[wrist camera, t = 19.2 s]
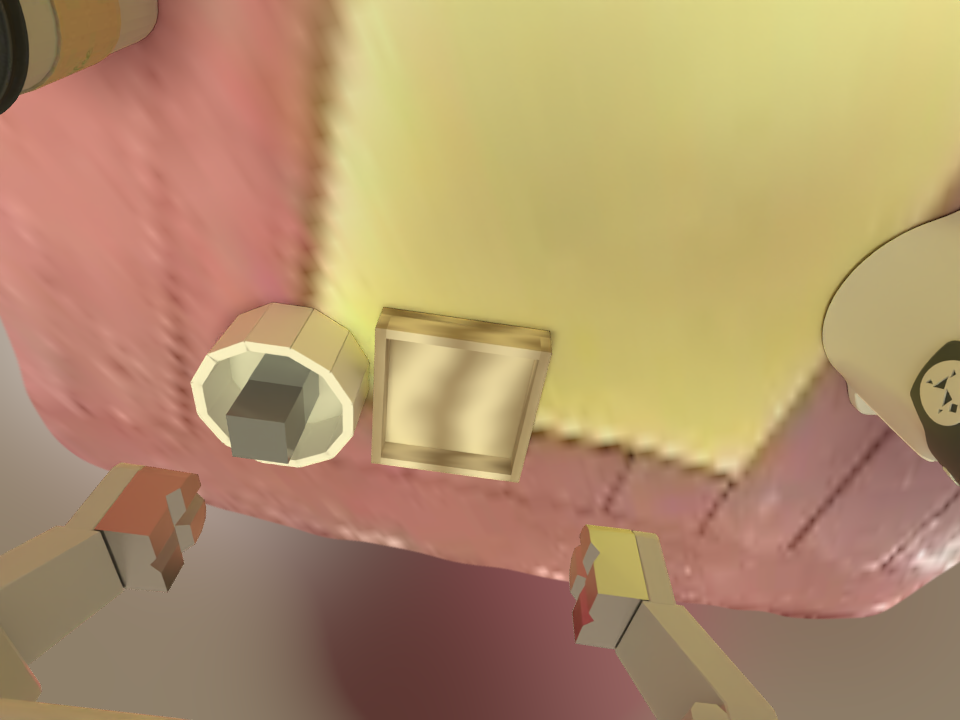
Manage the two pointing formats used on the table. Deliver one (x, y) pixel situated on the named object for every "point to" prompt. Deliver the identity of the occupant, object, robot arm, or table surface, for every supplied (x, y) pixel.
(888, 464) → the table surface
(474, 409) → the parts tray
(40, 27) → the coffee cup
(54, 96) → the table surface
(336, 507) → the table surface
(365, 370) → the bowl
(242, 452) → the charcoal cube
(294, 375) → the taupe cube
